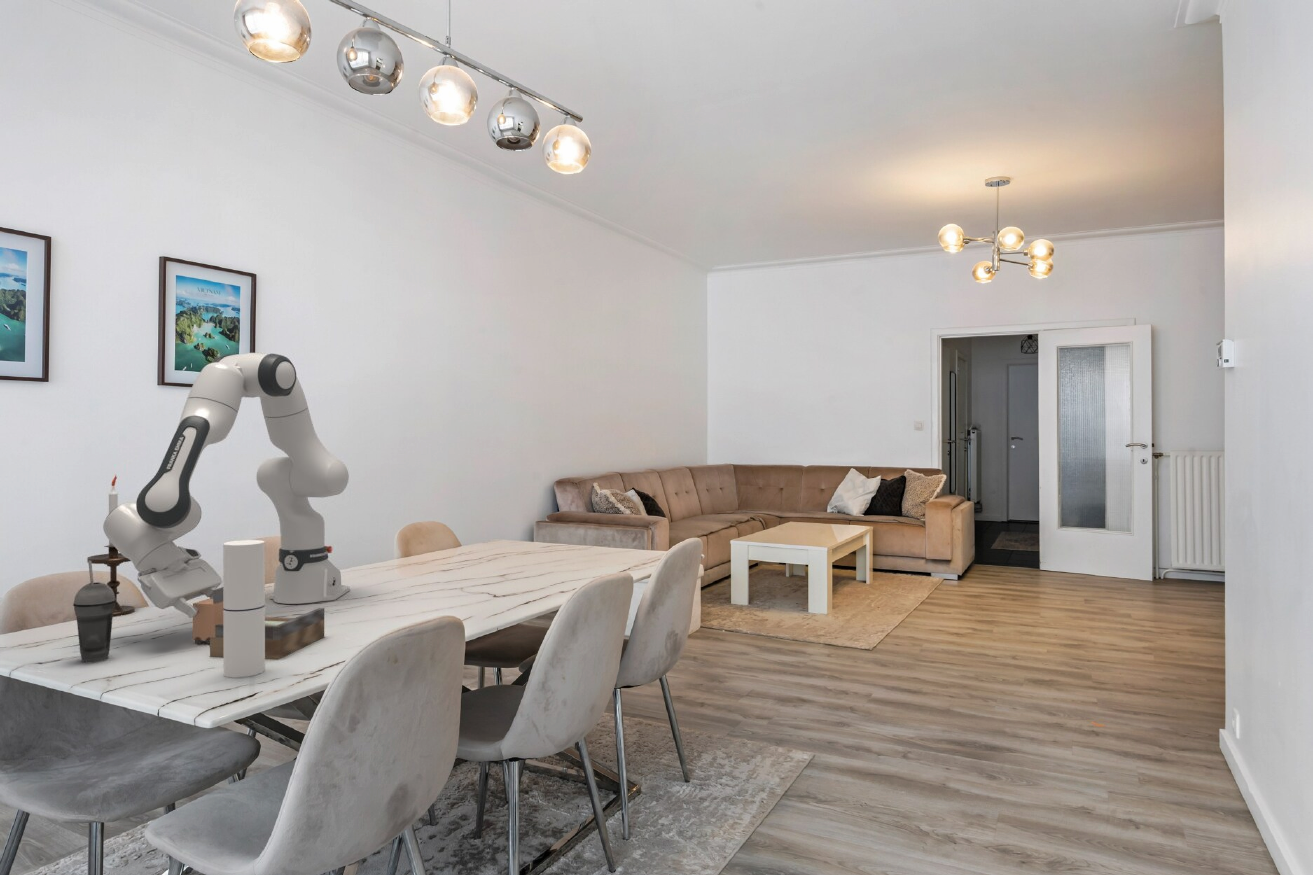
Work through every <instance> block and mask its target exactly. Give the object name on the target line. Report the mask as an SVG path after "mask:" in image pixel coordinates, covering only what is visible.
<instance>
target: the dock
mask: <svg viewBox="0 0 1313 875" xmlns="http://www.w3.org/2000/svg"><path fill="white" fill-rule="evenodd" d="M320 638H321V639H323V638H325V607H318V608H315V609H313V610H311V611H308V612H306V613H304V614H301V615H298V616H296V617H273V616H271V617H269V616H265V660H268V659H269V660H279V659H282V658H284V657H286V656H288V655H290V654H292V653H294V652H297V651H298V650H300V649H302V648H304V647H306V645H307V646H309V645H310V643H311V644H313V643H315V642H317V641H319V640H321V639H320ZM314 641H315V642H314ZM291 652H292V653H291ZM209 657H211V658H212V657H215V658H216V657H217V658H224V647H223V624H217V625H215V635H214V636H211V637H210V645H209ZM281 657H282V658H281Z"/></svg>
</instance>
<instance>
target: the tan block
mask: <svg viewBox="0 0 1313 875" xmlns="http://www.w3.org/2000/svg"><path fill="white" fill-rule="evenodd" d="M192 606H195V607H196V608H197V609H198V610H199V611H200V612H199V614H198V615H197V616H195V617H193V618H192V641H194V643H195V644H196V645H200V644H203V643H204V642H205V643H206V644H207V645H208V646H210V637H211V636H214V635H215V625H217V624H223V609H224V608H223V586H222V587H217V588H216V589H215V590H213V599H210V598H206V599H203V600H200V601H197V602H194V603H193V602H192Z"/></svg>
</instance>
